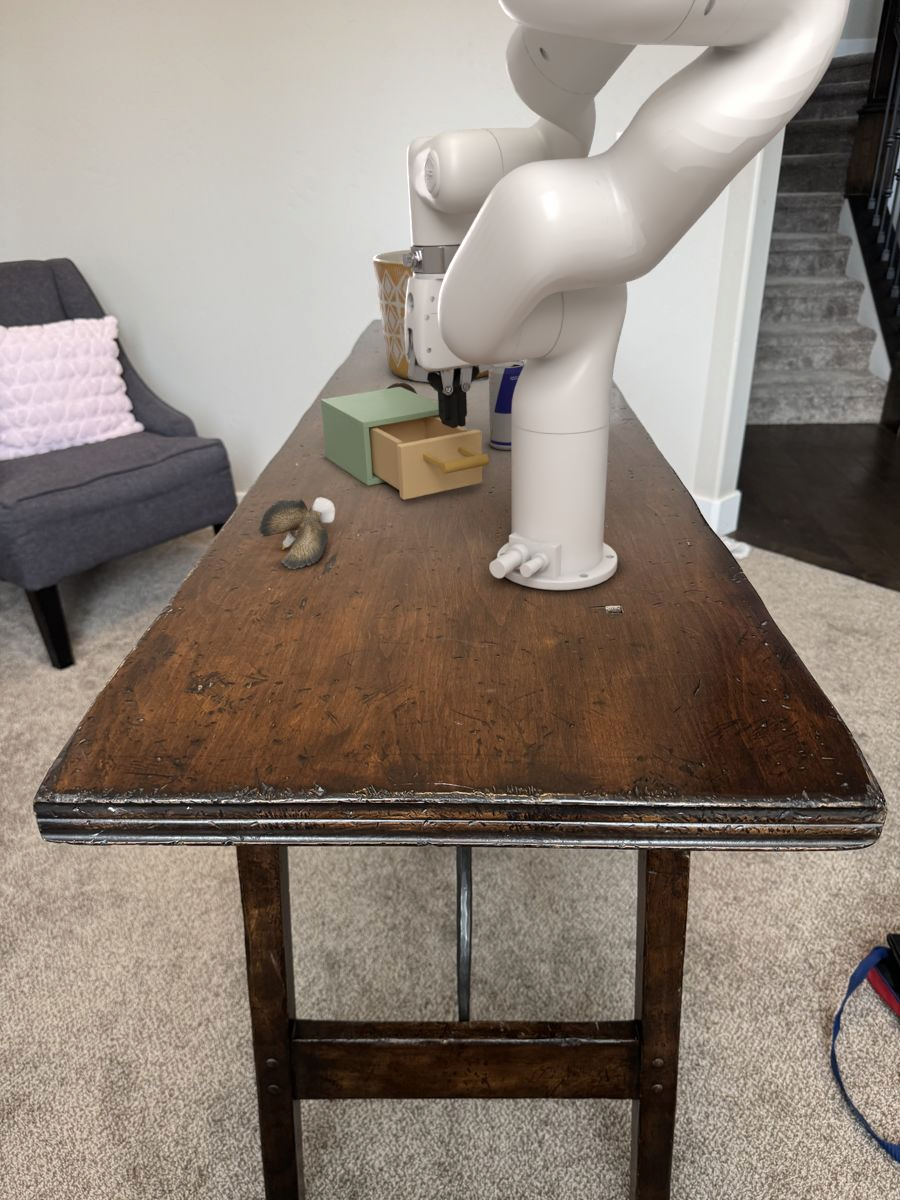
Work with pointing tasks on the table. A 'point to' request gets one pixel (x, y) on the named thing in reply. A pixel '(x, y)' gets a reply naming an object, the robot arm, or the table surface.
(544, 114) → the robot arm
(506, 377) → the energy drink
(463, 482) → the drawer
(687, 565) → the table surface
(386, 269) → the planter
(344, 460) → the cabinet
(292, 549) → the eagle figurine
